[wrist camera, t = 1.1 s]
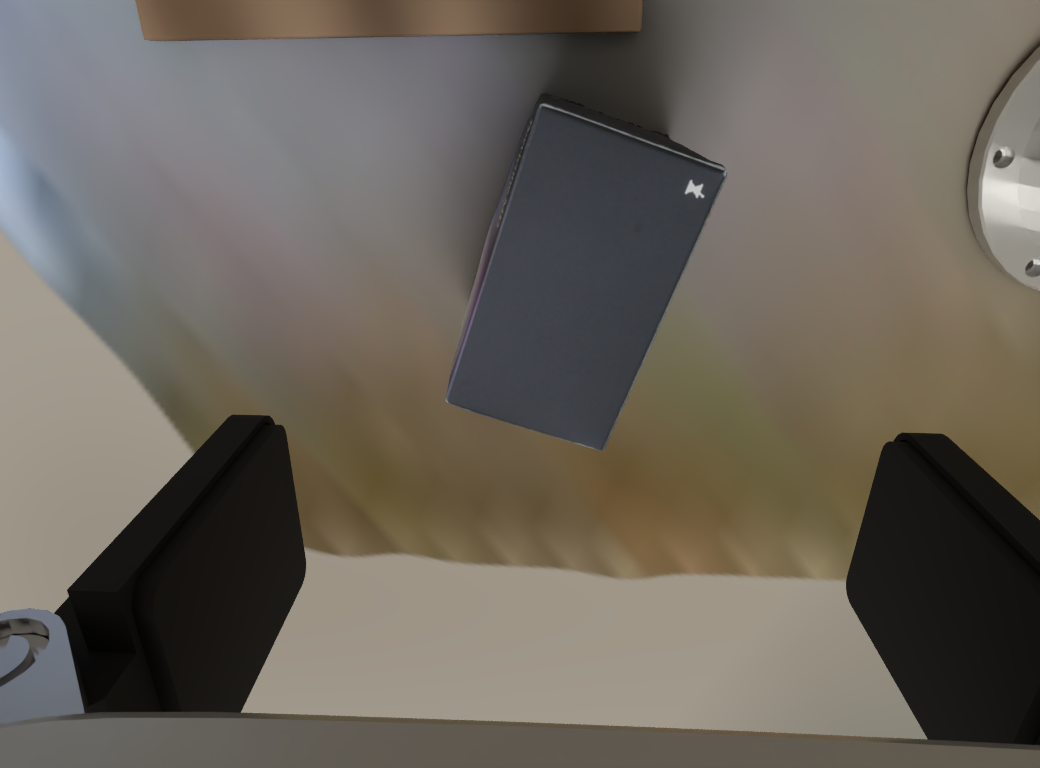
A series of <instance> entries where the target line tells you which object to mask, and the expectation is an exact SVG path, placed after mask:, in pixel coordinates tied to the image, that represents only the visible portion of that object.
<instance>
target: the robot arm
mask: <svg viewBox="0 0 1040 768" xmlns="http://www.w3.org/2000/svg"><path fill="white" fill-rule="evenodd" d="M994 155H995V157H994ZM993 157H994V158H993ZM967 198H968V209H969V218H970V221H971V224H972V227H973V230H974V233H975V236H976V240H977V241H978V243H979V244H980V246H981V248H982V249H983V251H984V252H985V254H986V256H987V257H988V259H989V260H990V261H991V262H992V263H993V264H994V265H995V266H996V267H997V268H999V269H1000V270H1001V271H1002V272H1003V273H1004V274H1005V275H1007V276H1008V277H1010V278H1012V279H1014V280H1016V281H1017V282H1019V283H1021V284H1023V285H1024V286H1027V287H1030V288H1032V289H1035V290H1038V291H1040V47H1038V48H1037V49H1036V50H1035V51H1034V52H1033V53H1032V55H1031V56H1030V57H1029V58H1028V59H1027V60H1026V61H1025V62H1024V63H1023V64H1022V66H1021V67H1020V68H1019V69H1018V70H1017V71H1016V72H1015V73H1014V74H1013V75H1012V77H1011V78H1010V80H1009V81H1008V83H1007V84H1006V86H1005V87H1004V89H1003V90H1002V92H1001V93H1000V95H999V96H998V98H997V99H996V100H995V102H994V103H993V105H992V107H991V109H990V111H989V114H988V116H987V118H986V120H985V122H984V124H983V126H982V128H981V130H980V132H979V135H978V138H977V141H976V145H975V148H974V151H973V155H972V158H971V161H970V168H969V177H968V186H967ZM305 571H306V558H305V551H304V545H303V539H302V532H301V526H300V519H299V513H298V506H297V500H296V494H295V487H294V481H293V474H292V468H291V461H290V455H289V449H288V442H287V436H286V431H285V429H284V427H283V426H282V425H275V423H274V421H273V419H272V418H271V417H270V416H262V415H231V416H230V417H228V418H227V419H226V421H225V422H224V423H223V424H222V425H221V426H220V427H219V428H218V429H217V430H216V431H215V432H214V433H213V434H212V436H211V437H210V438H209V439H208V440H207V441H206V442H205V443H204V444H203V445H202V446H201V447H200V448H199V449H198V450H197V452H196V453H195V454H194V455H193V456H192V457H191V458H190V459H189V460H188V461H187V462H186V463H185V465H183V467H182V468H181V469H180V470H179V471H178V472H177V473H176V474H175V475H174V476H173V477H172V478H171V479H170V481H169V482H168V483H167V484H166V485H165V486H164V487H163V488H162V489H161V490H160V491H159V492H158V493H157V495H155V497H154V498H153V499H152V500H151V501H150V502H149V503H148V504H147V505H146V506H145V507H144V508H143V509H142V510H141V512H140V513H139V514H138V515H137V516H136V517H135V518H134V519H133V520H132V521H131V522H130V523H129V524H128V525H127V526H126V528H125V529H124V530H123V531H122V532H121V533H120V534H119V535H118V536H117V537H116V538H115V539H114V541H113V542H112V543H111V544H110V545H109V546H108V547H107V548H106V549H105V550H104V551H103V552H102V553H101V554H100V555H99V556H98V558H97V559H96V560H95V561H94V562H93V563H92V564H91V565H90V566H89V567H88V568H87V569H86V570H85V572H83V574H82V575H81V576H80V577H79V578H78V579H77V580H76V581H75V582H74V583H73V584H72V585H71V586H70V587H69V589H68V590H67V591H68V594H69V597H68V599H67V600H66V601H65V602H64V603H63V604H62V605H61V606H60V607H59V608H58V609H57V611H56V612H55V613H52V612H50V611H48V610H40V609H30V608H29V609H21V610H12V611H7V612H3V613H0V768H1040V520H1039V519H1038V518H1037V517H1036V516H1035V515H1033V514H1032V513H1031V512H1030V511H1029V510H1028V509H1027V508H1026V507H1025V506H1023V505H1022V504H1021V503H1020V502H1019V501H1018V500H1017V499H1016V498H1015V497H1013V496H1012V495H1011V494H1010V493H1009V492H1008V491H1007V490H1006V489H1005V488H1004V487H1002V486H1001V485H1000V484H999V483H998V482H997V481H996V480H995V479H994V478H992V477H991V476H990V475H989V474H988V473H987V472H986V471H985V470H984V469H983V468H981V467H980V466H979V465H978V464H977V463H976V462H975V461H974V460H973V459H971V458H970V457H969V456H968V455H967V454H966V453H965V452H964V451H963V450H961V449H960V448H959V447H958V446H957V445H956V444H955V443H954V442H953V441H952V440H950V439H949V438H948V437H947V436H945V435H943V434H931V433H901V434H899V435H898V436H897V437H896V438H895V439H894V441H893V442H887V443H886V444H885V445H884V446H883V449H882V451H881V455H880V458H879V462H878V466H877V469H876V473H875V477H874V480H873V484H872V488H871V491H870V495H869V499H868V502H867V506H866V510H865V513H864V517H863V521H862V524H861V528H860V531H859V535H858V539H857V542H856V546H855V550H854V553H853V557H852V561H851V564H850V568H849V572H848V575H847V580H846V590H847V596H848V599H849V602H850V604H851V606H852V608H853V609H854V611H855V613H856V615H857V616H858V618H859V620H860V621H861V623H862V625H863V627H864V628H865V630H866V632H867V634H868V635H869V637H870V639H871V641H872V642H873V644H874V646H875V648H876V649H877V651H878V653H879V655H880V656H881V658H882V660H883V661H884V663H885V665H886V667H887V668H888V670H889V672H890V674H891V676H892V677H893V679H894V681H895V683H896V684H897V686H898V688H899V689H900V691H901V693H902V694H903V696H904V698H905V700H906V702H907V703H908V705H909V707H910V709H911V711H912V712H913V714H914V716H915V717H916V719H917V721H918V723H919V724H920V726H921V728H922V730H923V731H924V733H925V735H926V736H927V738H928V740H926V739H925V740H924V739H904V738H882V737H860V736H839V735H817V734H796V733H774V732H752V731H751V732H750V731H728V730H703V729H678V728H655V727H631V726H630V727H629V726H604V725H580V724H579V725H578V724H553V723H529V722H528V723H527V722H503V721H501V722H500V721H474V720H444V719H416V718H415V719H413V718H387V717H358V716H357V717H356V716H329V715H299V714H266V713H241V711H242V709H243V706H244V704H245V702H246V700H247V698H248V696H249V694H250V692H251V690H252V688H253V686H254V684H255V682H256V679H257V677H258V675H259V673H260V671H261V669H262V667H263V665H264V663H265V661H266V659H267V657H268V655H269V653H270V650H271V648H272V646H273V644H274V642H275V640H276V638H277V636H278V634H279V632H280V630H281V628H282V626H283V624H284V621H285V619H286V617H287V615H288V613H289V611H290V609H291V607H292V605H293V603H294V601H295V599H296V597H297V594H298V592H299V590H300V588H301V586H302V584H303V581H304V577H305Z"/></svg>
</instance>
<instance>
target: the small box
mask: <svg viewBox="0 0 1040 768" xmlns="http://www.w3.org/2000/svg"><path fill="white" fill-rule="evenodd" d="M726 177H727V172H726V169H725V167H724V166H723V165H721V164H718V163H715V162H712V161H710V160H708V159H706V158H705V157H703V156H701V155H699V154H697V153H695V152H694V151H691V150H690V149H688V148H686V147H684V146H683V145H681V144H678V143H676V142H674V141H672V140H670V138H669V136H668V135H667V134H665V135H662V134H661V133H660V132H655V131H647V130H645V129H642V128H641V127H640V126H635V125H634V124H632V123H630V122H628V123H626V122H623V121H620V120H619V119H614V118H612V117H610V116H606V115H604V114H602V113H601V112H596V111H592V110H590V109H587V108H585V107H584V106H583V105H582V104H578V103H575V102H573V101H569V100H565V99H561V98H557V97H553V96H550V95H548V94H542V95H541V96H540V97H539V99H538V101H537V103H536V105H535V107H534V109H533V111H532V113H531V116H530V118H529V120H528V122H527V125H526V127H525V129H524V132H523V134H522V137H521V140H520V142H519V145H518V148H517V150H516V153H515V156H514V159H513V162H512V165H511V168H510V170H509V173H508V176H507V179H506V182H505V185H504V188H503V191H502V193H501V196H500V199H499V202H498V205H497V208H496V211H495V213H494V216H493V219H492V222H491V225H490V228H489V231H488V234H487V237H486V241H485V244H484V248H483V251H482V255H481V258H480V262H479V265H478V269H477V272H476V276H475V279H474V283H473V286H472V290H471V293H470V297H469V300H468V303H467V307H466V311H465V314H464V318H463V322H462V326H461V330H460V334H459V338H458V342H457V347H456V351H455V356H454V360H453V365H452V370H451V374H450V380H449V385H448V390H447V394H446V401H447V402H448V403H449V404H451V405H454V406H457V407H460V408H462V409H465V410H468V411H471V412H474V413H477V414H481V415H484V416H487V417H490V418H494V419H497V420H500V421H504V422H507V423H510V424H513V425H516V426H519V427H523V428H526V429H530V430H534V431H537V432H540V433H543V434H546V435H549V436H552V437H556V438H559V439H562V440H566V441H569V442H573V443H576V444H579V445H583V446H586V447H589V448H593V449H597V450H600V451H603V450H604V449H605V447H606V445H607V442H608V440H609V438H610V436H611V433H612V431H613V429H614V427H615V425H616V422H617V420H618V418H619V416H620V413H621V411H622V409H623V407H624V405H625V403H626V400H627V398H628V396H629V394H630V391H631V389H632V387H633V384H634V382H635V380H636V378H637V376H638V374H639V371H640V369H641V367H642V365H643V362H644V360H645V358H646V356H647V353H648V351H649V349H650V347H651V345H652V343H653V341H654V338H655V336H656V334H657V332H658V329H659V327H660V325H661V323H662V320H663V318H664V316H665V314H666V311H667V309H668V307H669V305H670V303H671V300H672V298H673V295H674V293H675V290H676V288H677V286H678V284H679V282H680V280H681V278H682V276H683V274H684V271H685V269H686V267H687V264H688V262H689V260H690V258H691V256H692V253H693V251H694V249H695V247H696V245H697V243H698V240H699V238H700V236H701V233H702V231H703V229H704V227H705V224H706V222H707V219H708V218H709V216H710V213H711V210H712V208H713V206H714V204H715V201H716V199H717V197H718V195H719V193H720V190H721V188H722V186H723V184H724V182H725V180H726Z"/></svg>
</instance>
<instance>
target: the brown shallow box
mask: <svg viewBox="0 0 1040 768" xmlns="http://www.w3.org/2000/svg"><path fill="white" fill-rule="evenodd" d="M136 5H137V9H138V14H139V19H140V23H141V28H142V32H143V37H144V40H150V41H191V40H246V39H300V38H355V37H409V36H464V35H519V34H573V33H628V32H640V31H641V26H642V7H643V0H136Z"/></svg>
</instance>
